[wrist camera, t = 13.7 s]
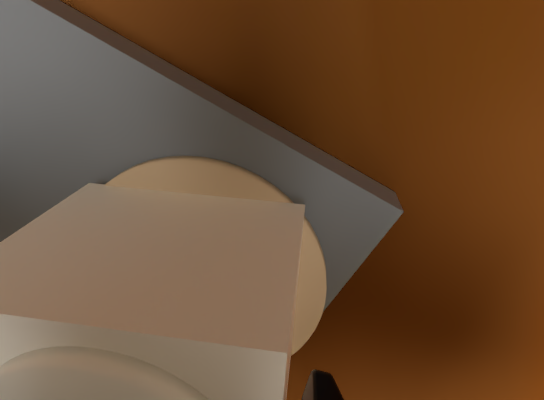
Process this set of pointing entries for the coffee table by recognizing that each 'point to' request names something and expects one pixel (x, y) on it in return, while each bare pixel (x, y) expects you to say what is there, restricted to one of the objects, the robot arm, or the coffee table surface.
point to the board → (165, 144)
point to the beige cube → (150, 298)
